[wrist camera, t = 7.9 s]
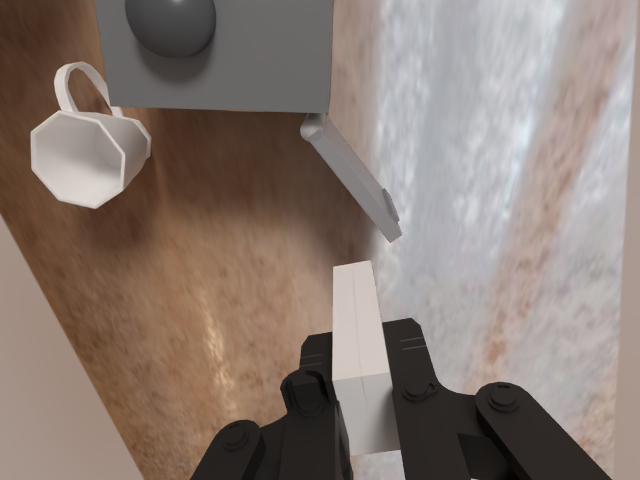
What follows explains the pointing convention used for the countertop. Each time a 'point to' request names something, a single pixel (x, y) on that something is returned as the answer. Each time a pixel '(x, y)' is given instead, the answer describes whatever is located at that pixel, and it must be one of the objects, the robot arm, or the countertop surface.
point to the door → (352, 173)
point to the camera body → (218, 54)
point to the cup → (87, 147)
